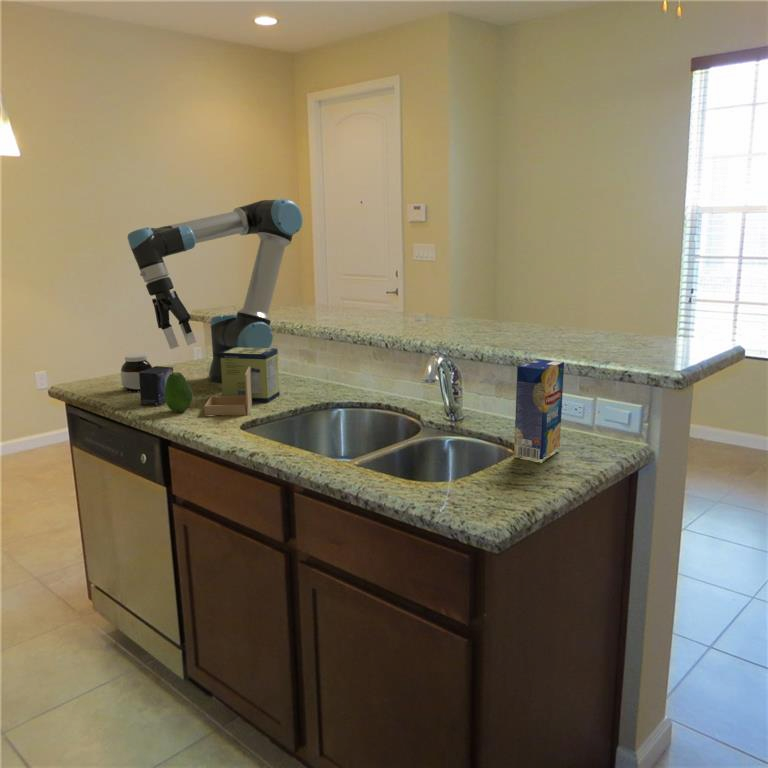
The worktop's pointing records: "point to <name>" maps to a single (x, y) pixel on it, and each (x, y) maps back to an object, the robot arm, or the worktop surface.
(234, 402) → the mailer box
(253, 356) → the protein box
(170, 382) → the fruit
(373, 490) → the worktop surface
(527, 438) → the blue cracker box
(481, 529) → the worktop surface
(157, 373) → the small box
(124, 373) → the spread jar
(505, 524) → the worktop surface
